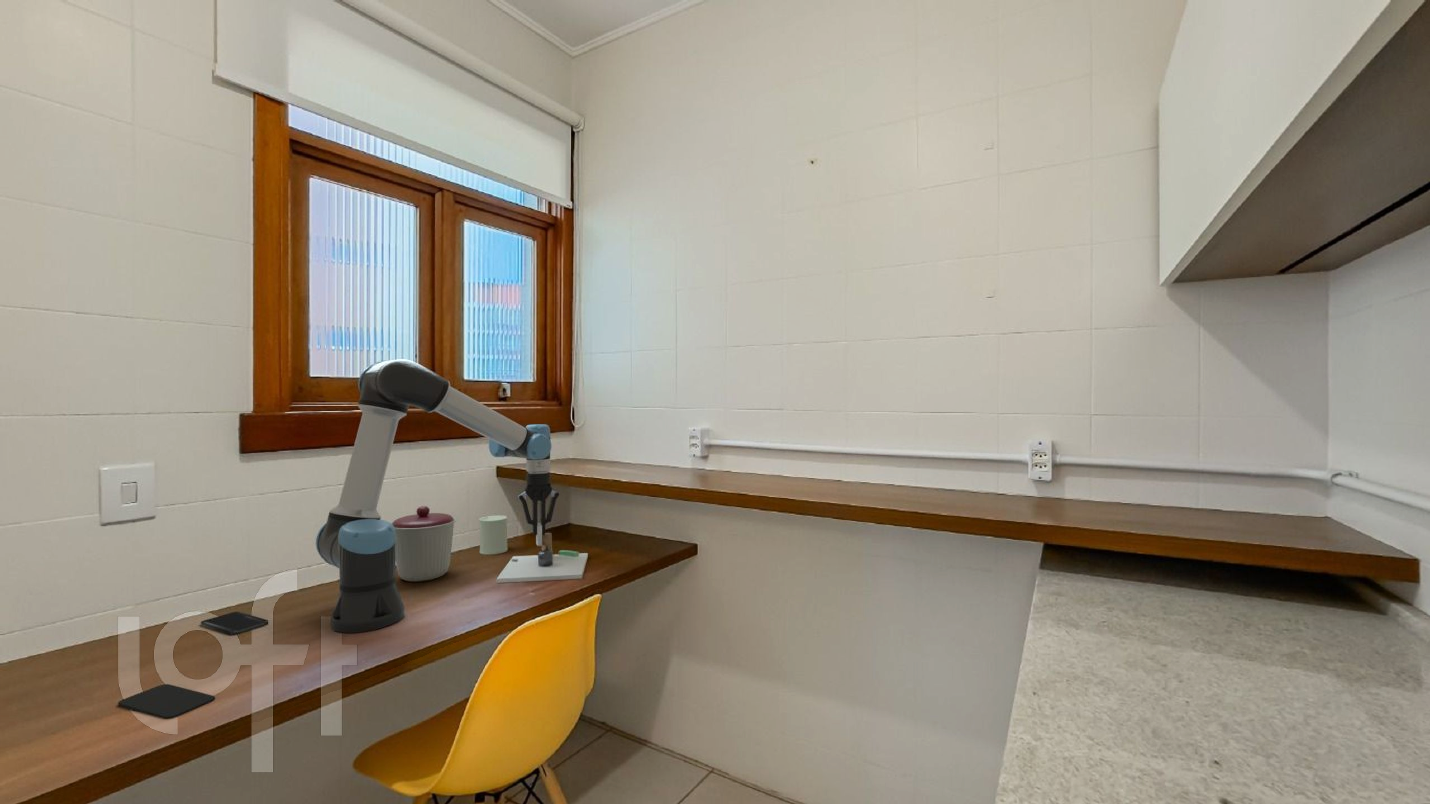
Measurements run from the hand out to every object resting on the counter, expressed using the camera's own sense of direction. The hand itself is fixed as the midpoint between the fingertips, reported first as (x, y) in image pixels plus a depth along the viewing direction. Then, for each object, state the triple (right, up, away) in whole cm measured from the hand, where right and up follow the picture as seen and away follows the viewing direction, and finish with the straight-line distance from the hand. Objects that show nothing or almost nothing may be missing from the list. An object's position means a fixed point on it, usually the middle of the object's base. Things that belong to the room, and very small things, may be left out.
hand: (539, 544), depth 192 cm
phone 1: (-40, -8, -87) cm, 96 cm away
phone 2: (-57, -7, -51) cm, 77 cm away
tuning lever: (+3, -4, -3) cm, 6 cm away
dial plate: (+4, -6, -8) cm, 11 cm away
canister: (-30, -6, -15) cm, 34 cm away
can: (-20, -6, +14) cm, 25 cm away
